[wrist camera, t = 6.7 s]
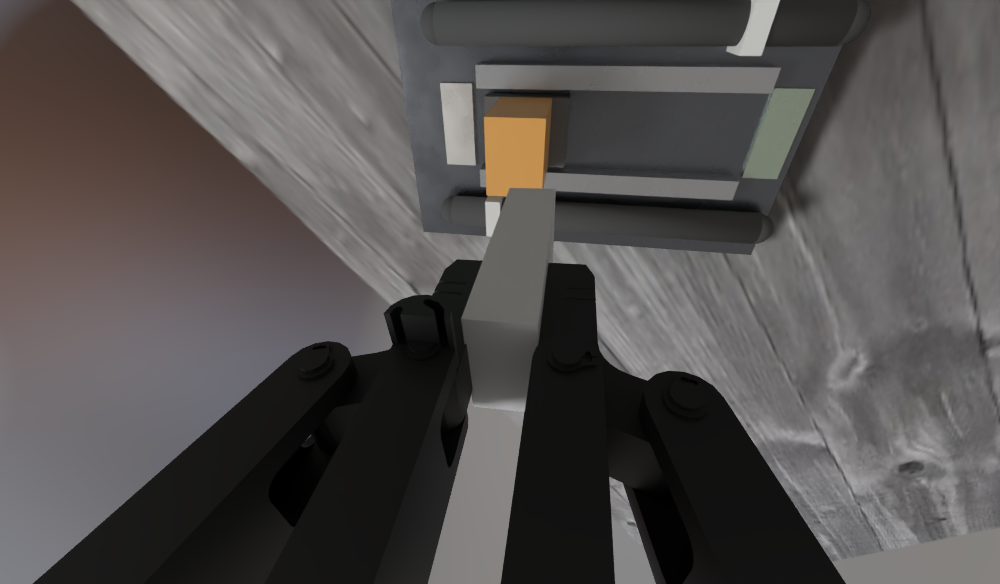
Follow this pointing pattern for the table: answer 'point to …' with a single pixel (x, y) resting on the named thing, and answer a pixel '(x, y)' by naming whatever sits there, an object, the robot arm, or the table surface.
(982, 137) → the table surface
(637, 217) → the pair of grey rails
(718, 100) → the panel
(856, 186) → the table surface
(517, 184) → the orange rectangular block
